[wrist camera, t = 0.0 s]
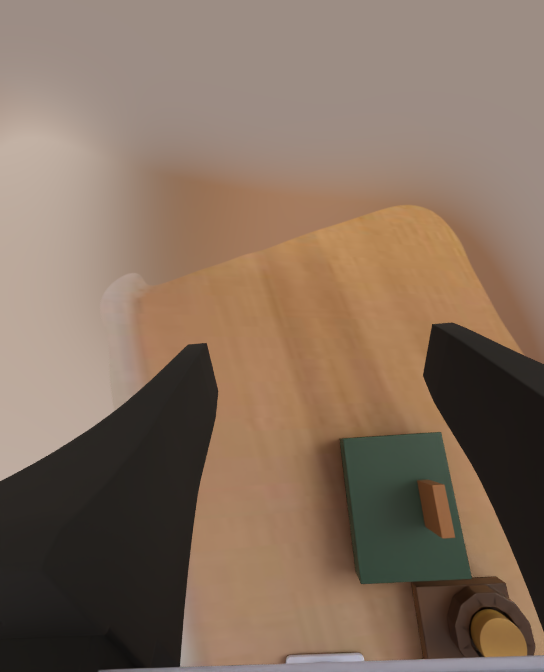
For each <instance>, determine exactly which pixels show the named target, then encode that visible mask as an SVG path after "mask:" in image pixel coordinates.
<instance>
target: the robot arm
mask: <svg viewBox="0 0 544 672" xmlns="http://www.w3.org/2000/svg"><path fill="white" fill-rule="evenodd" d="M423 377H424V379H425V382H426V384H427V387H428V389H429V392H430V394H431V396H432V398H433V401H434V403H435V405H436V406H437V408H438V410H439V411H440V413H441V415H442V416H443V418H444V420H445V421H446V423H447V425H448V426H449V428H450V430H451V431H452V433H453V435H454V436H455V438H456V439H457V441H458V443H459V444H460V446H461V448H462V449H463V451H464V453H465V454H466V456H467V457H468V459H469V461H470V462H471V464H472V466H473V468H474V470H475V471H476V473H477V475H478V477H479V479H480V481H481V483H482V485H483V487H484V489H485V491H486V493H487V496H488V498H489V500H490V502H491V504H492V506H493V508H494V510H495V513H496V515H497V517H498V519H499V522H500V524H501V526H502V528H503V531H504V533H505V535H506V537H507V540H508V542H509V544H510V546H511V549H512V551H513V554H514V556H515V559H516V561H517V564H518V566H519V568H520V571H521V573H522V576H523V578H524V581H525V583H526V586H527V588H528V591H529V593H530V596H531V599H532V601H533V604H534V607H535V609H536V612H537V615H538V617H539V620H540V623H541V625H542V628H543V631H544V364H542V363H540V362H537V361H535V360H533V359H531V358H528V357H526V356H524V355H522V354H520V353H517V352H515V351H513V350H511V349H509V348H507V347H505V346H503V345H500V344H498V343H496V342H494V341H492V340H490V339H488V338H486V337H484V336H482V335H480V334H478V333H476V332H473V331H471V330H469V329H467V328H465V327H462V326H460V325H457V324H455V323H442V324H432V329H431V334H430V340H429V345H428V351H427V356H426V362H425V367H424V373H423ZM217 399H218V388H217V384H216V380H215V376H214V372H213V367H212V363H211V359H210V355H209V351H208V347H207V343H202V344H190V345H187V346H186V347H185V348H184V349H183V350H182V351H181V352H180V353H179V354H178V355H177V356H176V357H175V358H174V359H173V360H172V361H171V362H170V363H169V364H168V365H166V366H165V367H164V368H163V369H162V370H161V371H160V372H159V373H158V374H157V375H156V376H155V377H154V378H153V379H152V380H151V381H150V382H149V383H147V384H146V385H145V386H144V387H143V388H142V389H141V390H139V391H138V392H137V393H136V394H135V395H134V396H133V397H131V398H130V399H129V400H128V401H127V402H126V403H124V404H123V405H122V406H121V407H119V408H118V409H117V410H115V411H114V412H113V413H112V414H110V415H109V416H108V417H106V418H105V419H103V420H102V421H101V422H99V423H98V424H97V425H95V426H94V427H92V428H91V429H89V430H88V431H86V432H85V433H83V434H82V435H80V436H78V437H77V438H75V439H74V440H72V441H71V442H69V443H68V444H66V445H64V446H63V447H61V448H60V449H58V450H56V451H55V452H53V453H51V454H50V455H48V456H46V457H45V458H43V459H41V460H39V461H37V462H36V463H34V464H32V465H30V466H28V467H27V468H25V469H23V470H21V471H19V472H17V473H15V474H14V475H12V476H10V477H8V478H6V479H4V480H2V481H0V672H544V655H537V656H507V657H476V658H445V659H415V660H384V661H364V657H363V655H362V654H361V653H335V654H306V655H289V656H287V658H286V664H261V665H231V666H200V667H180V657H181V644H182V632H183V619H184V607H185V597H186V587H187V577H188V567H189V558H190V550H191V541H192V533H193V525H194V518H195V510H196V503H197V496H198V490H199V485H200V480H201V476H202V472H203V468H204V464H205V460H206V456H207V452H208V447H209V443H210V439H211V435H212V431H213V427H214V422H215V418H216V409H217Z"/></svg>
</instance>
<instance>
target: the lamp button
mask: <svg viewBox="0 0 544 672" xmlns="http://www.w3.org/2000/svg"><path fill="white" fill-rule="evenodd" d="M471 636H472V640H473V642H474V644H475V646H476V648H477V649H478V650H479V652H480V653H481V654H482V655H483V656H484V657H507V656H527V645H526V641H525V639H524V636H523V635H522V633H521V631H520V630H519V629H518V627H516V626H515V625H514V624H513V623H512V622H511V621H510V620H509V619H507V618H506V617H505V616H504V615H503V614H501V613H500V612H498V611H496V610H492V609H484V610H481V611H479V612H478V613H477V614H476V615H475V616H474V617H473V619H472V622H471Z"/></svg>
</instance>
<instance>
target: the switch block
mask: <svg viewBox="0 0 544 672" xmlns="http://www.w3.org/2000/svg"><path fill="white" fill-rule="evenodd" d="M411 585H412V591H413V597H414V603H415V609H416V616H417V622H418V628H419V634H420V640H421V646H422V652H423V659H445V658H476V657H484V656H483V655H482V654H481V653H480V652H479V650H478V649H477V648H476V646H475V644H474V642H473V640H472V636H471V622H472V619H473V617H474V616H475V615H476V614H477V613H478V612H479V611H481V610H484V609H492V610H496V611H498V612H500V613H501V614H503V615H504V616H505V617H506V618H507V619H509V620H510V621H511V622H512V623H513V624H514V625H515V626H516V627H518V629H519V630H520V631H521V633H522V635H523V636H524V639H525V641H526V645H527V656H534V652H535V643H534V638H533V634H532V630H531V626H530V623H529V621H528V620H527V619H526V617H525V616H524V615H523V613H522V612H521V611H520V609H519V608H518V607H517V605H516V604H515V603H514V602H513V601H511V600H510V599H509V596H508V592H507V587H506V584H505V583H504V582H503V581H502V580H500V579H499V578H497V577H480V578H472V579H462V580H440V581H418V582H411Z"/></svg>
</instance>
